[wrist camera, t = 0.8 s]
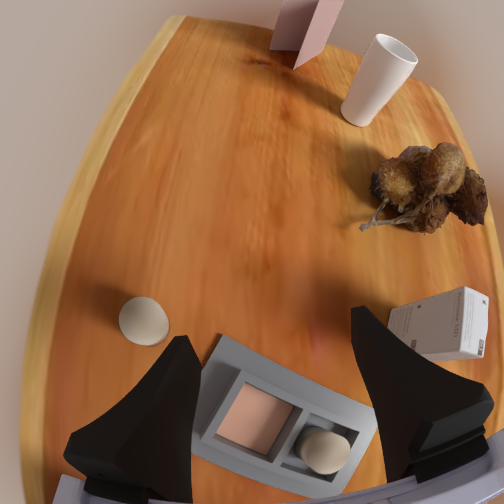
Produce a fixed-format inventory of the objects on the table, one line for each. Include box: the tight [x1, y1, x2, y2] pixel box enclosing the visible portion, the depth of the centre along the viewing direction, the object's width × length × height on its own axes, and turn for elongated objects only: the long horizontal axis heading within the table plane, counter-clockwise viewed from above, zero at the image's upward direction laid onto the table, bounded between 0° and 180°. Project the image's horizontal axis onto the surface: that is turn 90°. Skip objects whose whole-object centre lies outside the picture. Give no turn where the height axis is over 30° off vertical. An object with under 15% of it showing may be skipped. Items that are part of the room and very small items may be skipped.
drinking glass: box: [341, 34, 418, 127], centre depth 36 cm, size 7×7×15 cm
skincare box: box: [387, 286, 489, 362], centre depth 26 cm, size 6×4×12 cm
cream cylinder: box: [119, 297, 170, 346], centre depth 26 cm, size 4×4×4 cm
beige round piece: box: [294, 426, 350, 474], centre depth 24 cm, size 4×4×4 cm
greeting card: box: [269, 0, 344, 70], centre depth 40 cm, size 11×7×15 cm, turn 109°
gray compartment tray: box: [191, 335, 378, 499], centre depth 25 cm, size 12×20×3 cm, turn 62°
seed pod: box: [359, 142, 488, 234], centre depth 34 cm, size 13×16×15 cm
